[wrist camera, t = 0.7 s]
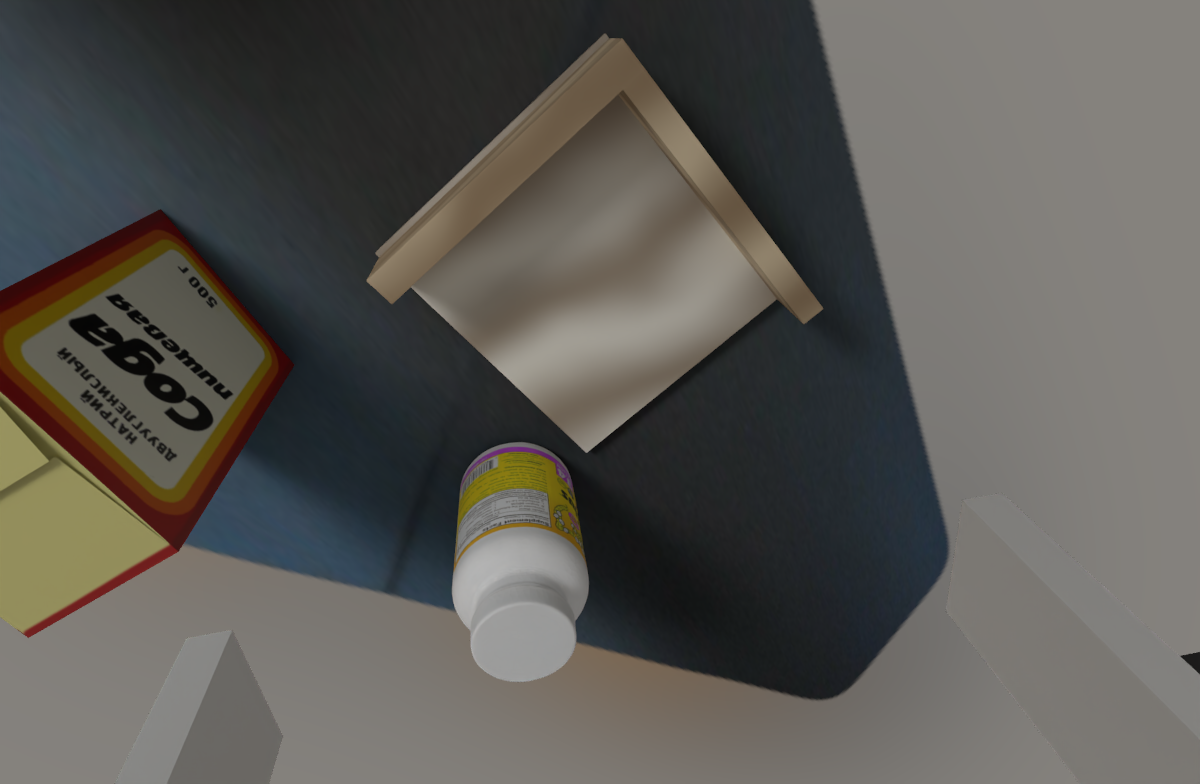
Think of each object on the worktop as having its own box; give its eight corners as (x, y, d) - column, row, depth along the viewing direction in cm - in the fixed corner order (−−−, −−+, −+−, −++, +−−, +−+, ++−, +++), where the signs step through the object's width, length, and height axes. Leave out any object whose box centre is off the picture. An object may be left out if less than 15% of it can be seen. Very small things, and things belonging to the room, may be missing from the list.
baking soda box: (294, 364, 38) (174, 558, 24) (195, 424, 39) (22, 645, 25) (160, 209, 34) (-81, 332, 20) (52, 278, 35) (-255, 445, 21)
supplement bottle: (568, 530, 45) (592, 697, 34) (460, 531, 44) (447, 703, 33) (575, 436, 42) (604, 584, 31) (460, 435, 41) (446, 587, 30)
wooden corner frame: (377, 250, 36) (361, 277, 32) (603, 33, 33) (618, 33, 29) (585, 447, 43) (594, 490, 39) (790, 281, 40) (823, 308, 36)
